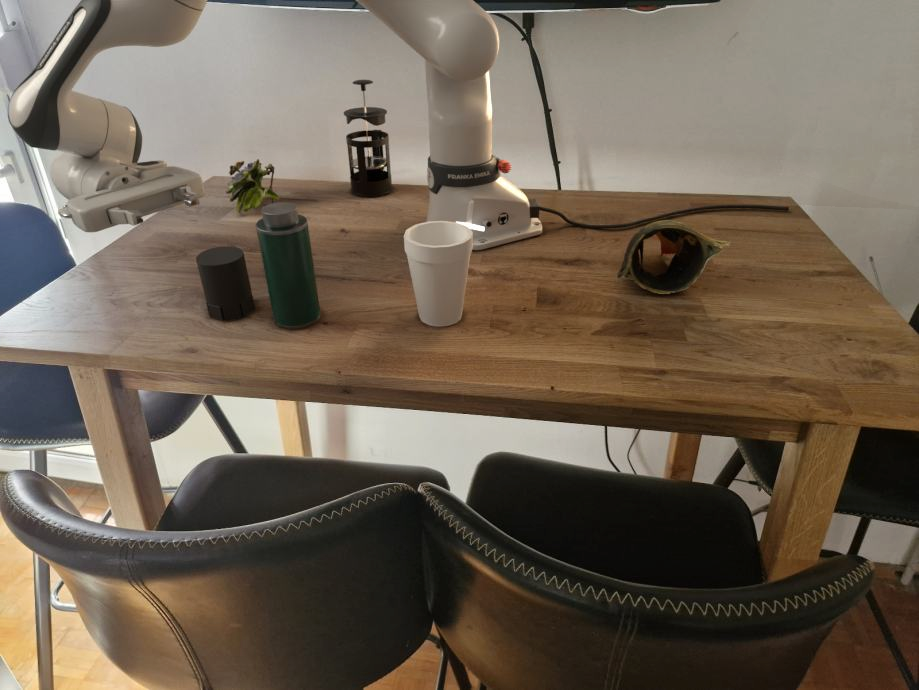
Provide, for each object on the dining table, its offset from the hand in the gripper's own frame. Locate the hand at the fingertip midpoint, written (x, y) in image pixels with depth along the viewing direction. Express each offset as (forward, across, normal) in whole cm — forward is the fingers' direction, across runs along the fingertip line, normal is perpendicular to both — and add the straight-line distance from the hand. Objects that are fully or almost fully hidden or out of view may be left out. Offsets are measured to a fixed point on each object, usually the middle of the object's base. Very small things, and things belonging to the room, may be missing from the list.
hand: (167, 209), depth 97 cm
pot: (+60, +47, +14) cm, 78 cm away
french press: (-9, +52, +14) cm, 55 cm away
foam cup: (+39, +17, +14) cm, 44 cm away
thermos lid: (+12, 0, +13) cm, 18 cm away
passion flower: (-22, +31, +14) cm, 40 cm away
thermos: (+22, +4, +13) cm, 26 cm away
